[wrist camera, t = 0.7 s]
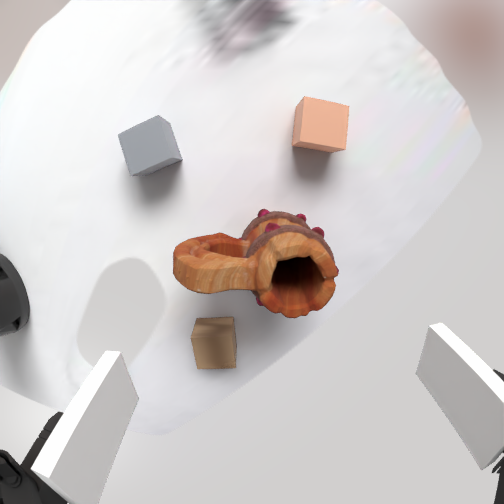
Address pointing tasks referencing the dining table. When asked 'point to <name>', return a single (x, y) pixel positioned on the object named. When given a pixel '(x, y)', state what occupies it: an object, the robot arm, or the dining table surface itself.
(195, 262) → the mug
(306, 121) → the terracotta block
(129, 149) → the slate block
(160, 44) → the dining table surface
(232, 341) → the walnut block
